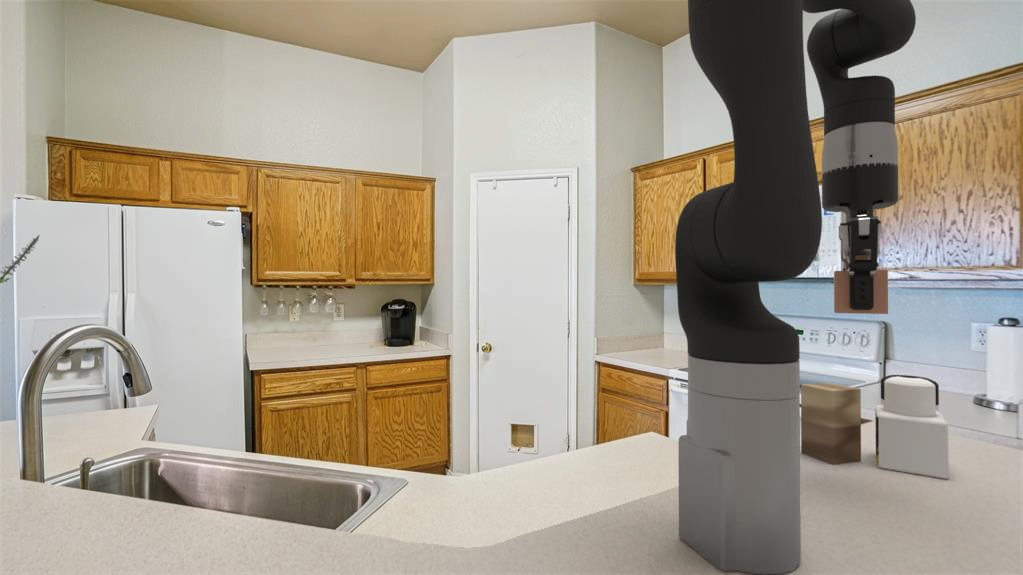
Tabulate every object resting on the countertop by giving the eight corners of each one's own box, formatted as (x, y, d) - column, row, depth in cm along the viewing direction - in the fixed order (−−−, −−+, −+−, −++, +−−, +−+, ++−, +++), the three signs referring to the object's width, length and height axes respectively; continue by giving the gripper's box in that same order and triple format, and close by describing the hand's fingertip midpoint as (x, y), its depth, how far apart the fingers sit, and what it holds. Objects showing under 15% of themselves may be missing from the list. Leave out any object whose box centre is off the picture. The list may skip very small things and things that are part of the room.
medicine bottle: (875, 453, 70) (875, 370, 70) (941, 464, 66) (940, 375, 66) (877, 468, 64) (876, 377, 64) (949, 480, 60) (948, 383, 60)
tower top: (832, 427, 65) (832, 390, 66) (801, 418, 70) (801, 384, 70) (860, 425, 67) (860, 388, 67) (828, 416, 72) (827, 382, 72)
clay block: (888, 314, 55) (887, 269, 55) (835, 312, 58) (834, 271, 58) (883, 312, 59) (882, 271, 59) (834, 311, 62) (833, 272, 62)
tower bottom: (832, 464, 65) (832, 427, 65) (801, 453, 70) (801, 418, 70) (861, 461, 67) (860, 425, 67) (828, 450, 72) (828, 416, 72)
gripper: (908, 148, 51) (909, 311, 50) (889, 177, 63) (890, 308, 62) (823, 159, 54) (823, 310, 54) (820, 184, 67) (821, 307, 66)
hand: (859, 308), depth 58 cm, fingers closed on clay block, 5 cm apart
